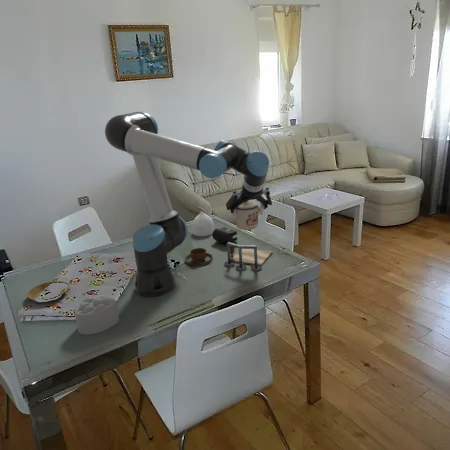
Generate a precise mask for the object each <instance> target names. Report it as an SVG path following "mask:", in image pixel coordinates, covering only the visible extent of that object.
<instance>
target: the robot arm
mask: <svg viewBox="0 0 450 450" xmlns="http://www.w3.org/2000/svg"><path fill="white" fill-rule="evenodd" d="M104 133H105V134H104V136H105V138H106V141H107V142H108V143H109V145H111V147H113V148H114V149H116V150H119V151H121V152H126V153H127V154H128V155H130V156H132V158H133V161H134V164H135V167H136V168H135V169H136V171H137V174H138V178H139V180H140V185H141V186H142V190H143V193H144V197H145V200H146V202H147V205H148V209H149V212H150V214H151V215H150V217H149V220H148V222H149V224H147V225H146V226H142V227H139V228H138V229H136V230H135V231H134V232H133V234H132V246H133V250H134V257H135V263H136V270H137V271H136V276H135V277H136V278H135V280H134V281H135V282H134V289H135V292H136V294H138V295H139V296H142V297H158V296H162V295H165V294H167V293H169V292H171V291H173V290H174V289H175V286H176V282H175V277H174V276H173V274H172V272H171V269H170V267H169V263H168V262H169V261H168V255H169V253H171V252H172V251H174V249H176V248H177V247H179V246H180V245H181V244H183V242H184V241H185V240H186V239H187V236H188V233H189V229H188V224H187V223H186V220H185V219H183V218H182V217H181V216H179V213H178V211H177V210H174V209H173V206H172V203H171V200H170V196H169V194H168V189H167V185H166V183H165V179H164V177H163V173H162V170H161V166H160V163H159V159H160V160H162V161H167V162H168V163H173V164H176V165H179V166H183V167H187V168H190V169H192V170H196V171H199V172H201V174H202V175H203V176H204V177H205V178H209V179H214V178H218V177H220V176H222V175H223V174H224V173H226V172H227V171H230V170H231V169H232V170H234V171H236V172H238V173H240V174H241V175H243V182H242V187H241V190H240V192H237V191H236V190H235V191H233V192H232V195H231V197H230V198H229V199H228V201H227V202H226V204H225V206H226V211H230V214H231V215H232V219H236V208H237V207H238V206H240V205H241V204H242V203H245V202H246V201H247V200H250V201H253V200H256V201H257V202H259V203H260V204H259V209H260V211H259V215H260V216H262V215H263V213H264V210H267V209H268V208H269V206H272V205H273V201H272V198H271V192H270V191H271V190H270V188H269V187H266V188H265V189H264V186H265V183H266V178H267V175H268V172H269V168H270V167H269V166H270V160H269V157H268V155H267V154H266V153H265V152H263V151H257V150H255V151H252V152H249V151H247V150H245V149H243V148H241V147H240V146H238V145H235V144H234V143H233V142H230V141H227V140H224V139H221V140H220V141H219V142H218V143H217V144H216V145H215V146H214V149H211V148H206V147H204V146H200V145H196V144H192V143H190V142H186V141H182V140H178V139H175V138H173V137H172V138H171V137H168V136H164V135H161V134H159V127H158V123H157V121H156V120H155V118H154V117H153V116H152V115H151V114H149V113H147V112H144V111H134V112H131V113H130V112H129V113H125V114H118V115H114V116H113V117H111V118H109V120H108V121H107V123H106V124H105V129H104ZM262 195H264V196H265V197H266V198H265V197H263V196H262ZM268 205H269V206H268Z"/></svg>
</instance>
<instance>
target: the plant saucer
mask: <svg viewBox="0 0 450 450" xmlns="http://www.w3.org/2000/svg"><path fill="white" fill-rule="evenodd" d="M57 282H58V283H65V284H67V285H68V288H67V290H66V291H68V289H69V287H70V286H69V284H68V282H65V281H61V280H60V281H59V280H58V281H57V280H56V281H48V282H45V283H40V284H38V285H36V286H34V287H32V288H31V289H30V290H29V291H28V292H27V295H26V296H27V298H28V299H29V300H31V301H33V302H35V301H34V300H35V299H34V298H35V297H37V296H38V294H39V293H40V292H41V291H43V290H44V289H45V288H46V287H48V286H49V285H50V284H52V283H57ZM66 291H65V292H66ZM65 292H63V293H62V294H64V293H65ZM66 293H67V292H66ZM66 293H65V294H66ZM62 294H60V295H62ZM65 294H64V295H65ZM60 295H58V296H60ZM58 296H55V297H53V298H56V297H58ZM53 298H49V299H53ZM43 300H48V299H43Z"/></svg>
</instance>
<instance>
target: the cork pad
mask: <svg viewBox="0 0 450 450" xmlns="http://www.w3.org/2000/svg"><path fill="white" fill-rule="evenodd" d="M272 254H273V251H272V250H264V249H258V248H257V261H258V265H260V266H261V267H262V266H263V265H264V264H265V262H266V261H267V260H268V259H269V258H270V256H271V255H272ZM267 258H268V259H267ZM266 259H267V260H266ZM231 261H233V262H234V263H235V264H239V251H238V252H236V253H235V255H233V258H232V259H231ZM242 263H243V264H242V265H249V264H250V266H253V265H255V261H254V249H242Z"/></svg>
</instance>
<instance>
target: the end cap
mask: <svg viewBox="0 0 450 450" xmlns="http://www.w3.org/2000/svg"><path fill="white" fill-rule="evenodd" d="M228 229H229V228H228V227H226V226H225V227H221V228H217V227H216V228H214V231H213V234H211V236H212V239H213V240H214V241H216V242H218V243H221V244H224V245H227V243H228V242H230V243H234V244H235V243H236V244H237V243H238V242H237V241H238V236H237V235H238V230H235V229H230V230H228ZM234 236H236V237H234Z"/></svg>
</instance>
